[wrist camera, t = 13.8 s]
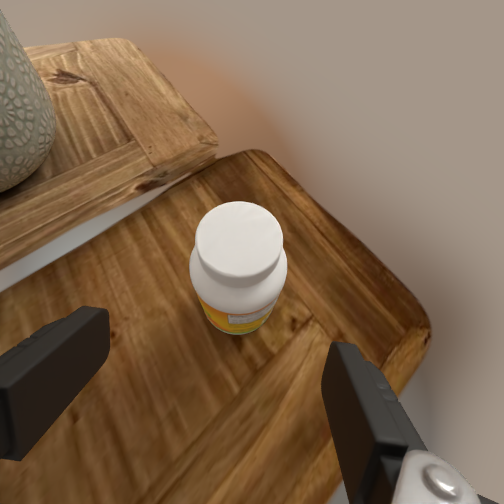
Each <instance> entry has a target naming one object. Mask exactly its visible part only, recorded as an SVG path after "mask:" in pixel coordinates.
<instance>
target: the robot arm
mask: <svg viewBox="0 0 504 504" xmlns="http://www.w3.org/2000/svg"><path fill="white" fill-rule="evenodd" d="M109 351H110V327H109V312H108V310H107V309H103V308H96V307H89V306H82V307H80V308H78V309H77V310H76V311H74V312H73V313H71V314H70V315H69V316H67V317H66V318H62V319H59V320H57V321H54V322H52V323H50V324H47V325H45V326H43V327H42V328H41V329H39V330H38V331H36V332H35V333H33V334H32V335H30V338H26V339H25V340H23V341H22V342H20V343H19V344H17V347H13V348H11V349H10V350H9V351H7V352H6V353H4V354H3V355H1V356H0V459H8V460H15V461H21V460H22V459H23V458H24V457H25V456H26V454H27V453H28V452H29V451H30V450H31V449H32V447H33V446H34V445H35V444H36V443H37V442H38V440H39V439H40V438H41V437H42V436H43V435H44V433H45V432H46V431H47V430H48V429H49V427H50V426H51V425H52V424H53V423H54V422H55V420H56V419H57V418H58V417H59V416H60V415H61V413H62V412H63V411H64V410H65V409H66V408H67V406H68V405H69V404H70V403H71V402H72V400H73V399H74V398H75V397H76V396H77V395H78V393H79V392H80V391H81V390H82V389H83V388H84V386H85V385H86V384H87V383H88V382H89V381H90V379H91V378H92V377H93V376H94V375H95V374H96V372H97V371H98V370H99V369H100V368H101V366H102V365H103V364H104V363H105V361H106V359H107V357H108V354H109ZM321 391H322V397H323V401H324V405H325V409H326V413H327V417H328V421H329V425H330V429H331V433H332V437H333V441H334V445H335V449H336V453H337V457H338V461H339V465H340V468H341V472H342V476H343V480H344V484H345V488H346V492H347V496H348V500H349V504H498V503H496V502H494V501H492V500H490V499H487V498H485V497H483V496H481V495H479V494H476V492H475V491H474V489H473V487H472V486H471V485H470V483H469V482H468V481H467V480H466V478H465V477H464V476H463V475H462V474H461V473H460V472H459V471H458V470H457V469H456V468H454V467H453V466H452V465H451V464H450V463H448V462H447V461H445V460H444V459H442V458H440V457H439V456H437V455H435V454H433V453H430V452H428V450H427V448H426V446H425V445H424V443H423V441H422V440H421V438H420V436H419V434H418V433H417V431H416V429H415V428H414V426H413V424H412V423H411V421H410V419H409V417H408V416H407V414H406V412H405V410H404V409H403V407H402V406H401V404H400V402H398V398H397V397H396V395H395V393H394V392H393V390H391V386H390V385H389V383H388V381H387V380H386V378H385V376H384V374H383V373H382V372H381V371H380V370H379V369H378V368H377V367H376V366H374V365H373V364H372V363H371V362H369V361H364V359H363V357H362V355H361V353H360V351H359V350H358V348H357V346H356V345H355V344H350V343H343V342H336V341H333V342H332V343H331V345H330V348H329V352H328V356H327V359H326V363H325V367H324V371H323V375H322V381H321Z"/></svg>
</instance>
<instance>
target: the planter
mask: <svg viewBox="0 0 504 504" xmlns="http://www.w3.org/2000/svg"><path fill="white" fill-rule="evenodd" d="M55 133H56V116H55V111H54V107H53V104H52V101H51V98H50V96H49V94H48V92H47V90H46V88H45V86H44V84H43V82H42V80H41V78H40V76H39V74H38V73H37V71H36V69H35V67H34V66H33V64H32V62H31V61H30V59H29V57H28V56H27V54H26V52H25V51H24V49H23V47H22V46H21V44H20V43H19V41H18V39H17V37H16V36H15V34H14V32H13V31H12V29H11V27H10V25H9V24H8V22H7V20H6V18H5V17H4V15H3V13H2V12H1V10H0V193H1V192H3V191H6V190H8V189H10V188H12V187H14V186H15V185H17V184H19V183H20V182H22V181H23V180H25V179H26V178H27V177H29V176H30V175H31V174H32V173H33V172H34V171H35V170H36V169H37V168H38V167H39V166H40V165H41V164H42V162H43V161H44V160H45V158H46V157H47V155H48V153H49V151H50V149H51V147H52V145H53V141H54V138H55Z"/></svg>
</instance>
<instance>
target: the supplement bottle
mask: <svg viewBox="0 0 504 504" xmlns="http://www.w3.org/2000/svg"><path fill="white" fill-rule="evenodd" d="M195 244H196V245H195V247H194V249H193V251H192V254H191V257H190V265H189V269H190V277H191V281H192V284H193V286H194V289H195V291H196V294H197V296H198V298H199V301H200V303H201V305H202V307H203V310H204V312H205V314H206V316H207V318H208V319H209V321H210V322H211V323H212V324H213V325H214V326H215V327H216V328H218V329H219V330H221V331H223V332H226V333H229V334H246V333H249V332H252V331H254V330H256V329H258V328H259V327H260V326H261V325H262V324H263V323H264V322H265V321H266V320H267V318H268V317H269V315H270V314H271V312H272V309H273V307H274V305H275V303H276V301H277V299H278V296H279V294H280V292H281V290H282V288H283V285H284V282H285V279H286V275H287V259H286V255H285V251H284V249H283V247H282V246H283V235H282V230H281V228H280V225H279V223H278V221H277V220H276V219H275V217H274V216H273V215H272V214H271V213H270V212H268V211H267V210H266V209H264V208H262V207H260V206H258V205H256V204H253V203H248V202H229V203H225V204H222V205H219V206H217V207H215V208H214V209H212V210H211V211H209V212H208V213H207V214H206V215H205V216H204V217H203V219H202V220H201V222H200V223H199V225H198V228H197V231H196V236H195Z"/></svg>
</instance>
